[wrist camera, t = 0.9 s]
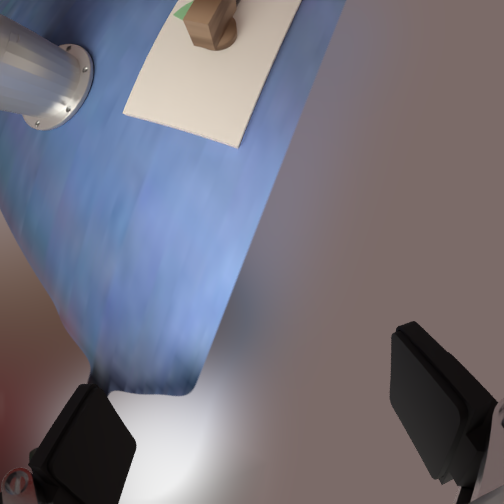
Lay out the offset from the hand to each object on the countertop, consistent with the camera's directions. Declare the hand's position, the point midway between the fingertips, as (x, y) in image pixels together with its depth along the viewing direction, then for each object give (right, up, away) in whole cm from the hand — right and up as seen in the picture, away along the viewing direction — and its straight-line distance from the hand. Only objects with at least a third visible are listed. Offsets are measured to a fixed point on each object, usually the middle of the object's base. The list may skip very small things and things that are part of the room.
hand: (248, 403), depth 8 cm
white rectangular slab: (-4, +29, +20) cm, 36 cm away
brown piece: (-3, +30, +18) cm, 36 cm away
